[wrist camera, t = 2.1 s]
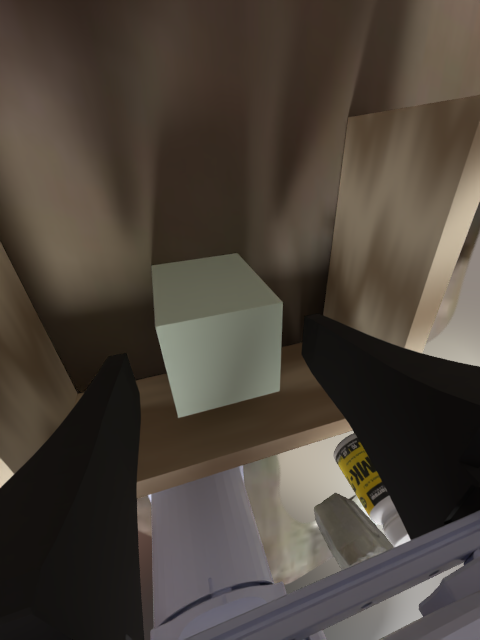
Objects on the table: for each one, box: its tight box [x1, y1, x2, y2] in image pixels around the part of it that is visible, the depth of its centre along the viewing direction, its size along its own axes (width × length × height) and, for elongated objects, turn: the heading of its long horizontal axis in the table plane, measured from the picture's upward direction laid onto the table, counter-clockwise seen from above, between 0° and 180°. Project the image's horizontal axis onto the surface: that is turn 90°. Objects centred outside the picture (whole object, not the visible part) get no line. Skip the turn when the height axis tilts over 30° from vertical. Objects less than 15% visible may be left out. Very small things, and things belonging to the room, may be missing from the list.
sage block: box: [151, 253, 283, 418], centre depth 13 cm, size 4×4×6 cm
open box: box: [0, 95, 480, 499], centre depth 12 cm, size 14×18×6 cm
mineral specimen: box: [314, 493, 394, 570], centre depth 32 cm, size 7×9×8 cm
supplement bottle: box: [334, 433, 410, 547], centre depth 26 cm, size 5×5×8 cm
